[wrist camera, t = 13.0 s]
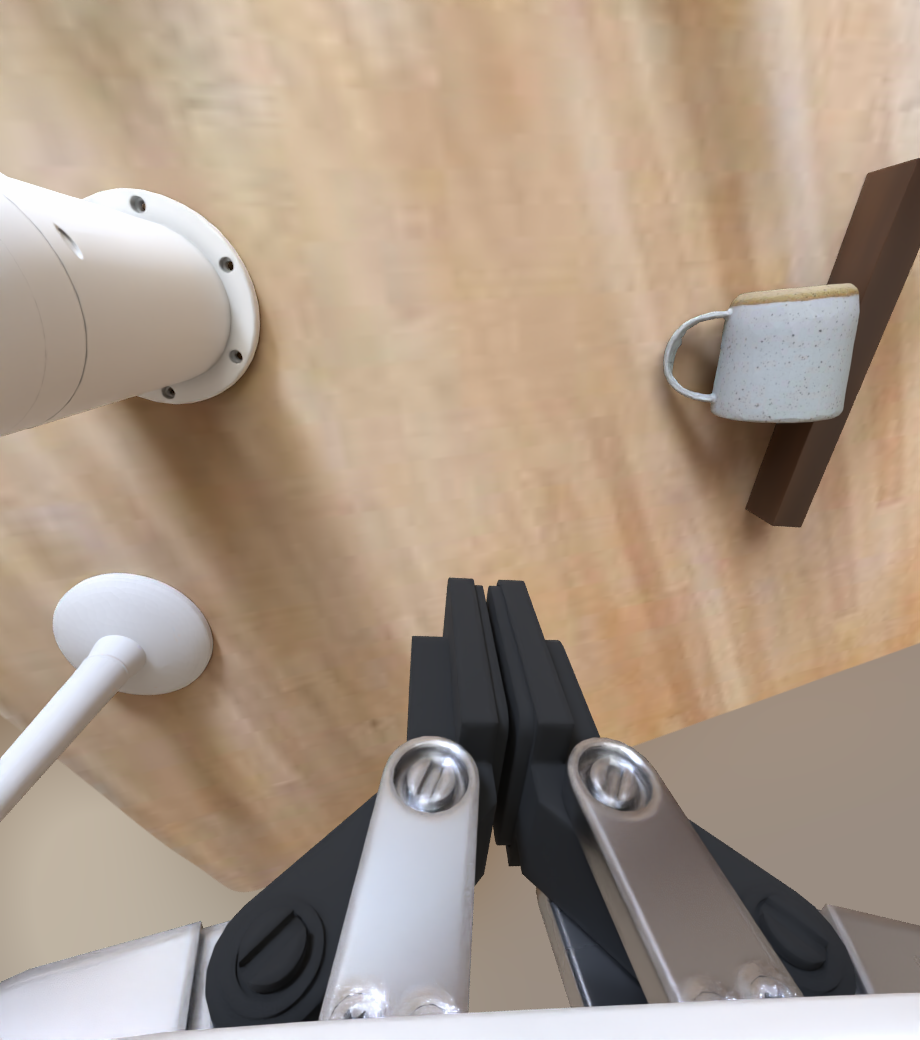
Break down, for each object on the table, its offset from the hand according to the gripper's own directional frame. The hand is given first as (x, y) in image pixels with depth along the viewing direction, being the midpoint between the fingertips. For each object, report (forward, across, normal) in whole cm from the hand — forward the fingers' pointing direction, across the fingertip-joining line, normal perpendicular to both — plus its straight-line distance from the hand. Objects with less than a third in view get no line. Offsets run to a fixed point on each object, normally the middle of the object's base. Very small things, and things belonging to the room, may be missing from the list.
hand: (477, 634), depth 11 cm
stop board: (+27, -28, -5) cm, 39 cm away
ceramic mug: (+27, -21, -5) cm, 35 cm away
